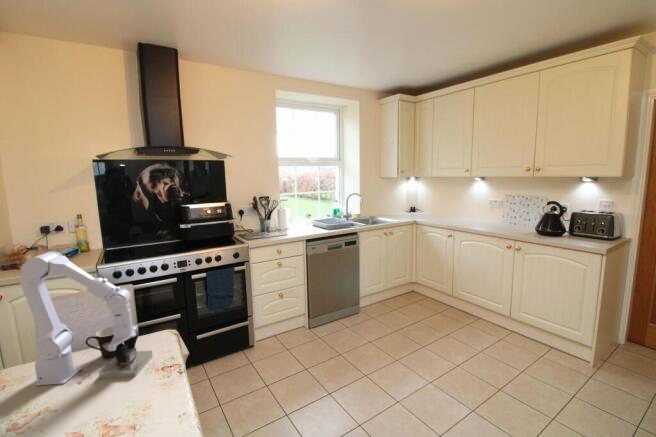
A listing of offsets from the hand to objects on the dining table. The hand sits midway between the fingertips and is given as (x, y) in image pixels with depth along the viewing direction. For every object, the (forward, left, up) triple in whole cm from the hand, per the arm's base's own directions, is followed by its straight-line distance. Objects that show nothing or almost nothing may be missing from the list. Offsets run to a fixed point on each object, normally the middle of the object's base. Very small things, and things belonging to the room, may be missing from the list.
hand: (126, 358), depth 112 cm
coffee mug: (-12, +9, -4) cm, 15 cm away
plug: (0, 0, -3) cm, 3 cm away
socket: (0, 0, -3) cm, 3 cm away
